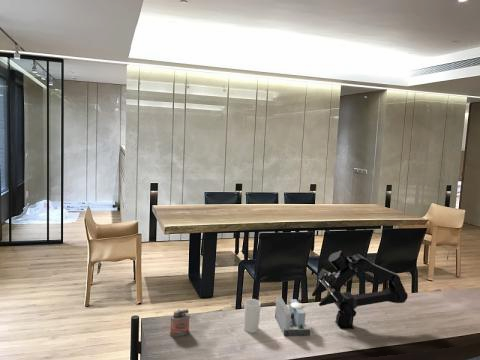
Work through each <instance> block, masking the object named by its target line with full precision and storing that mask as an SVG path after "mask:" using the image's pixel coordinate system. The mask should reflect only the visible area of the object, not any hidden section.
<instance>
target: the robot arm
mask: <svg viewBox="0 0 480 360" xmlns="http://www.w3.org/2000/svg"><path fill="white" fill-rule="evenodd" d="M328 261H329V262H330V264H331V265H332V266H333V268H335V270H337V272H336V271H334V272H332V273H331V272H330V271H328V270H326V269H324V268H321V270H320V272H319V273H318V275H317V284H316V287H315V288H314V290H313V292H312V293H311V296H312V297H316V296H318V295H320V294H322V293H323V292H326V291H327V294H326V295H325V297H324V298H322V300H320V302H319V303H318V305H319V307H323V306H326V305H331V304H334V305H335V306H336V307H337V309H338V310H337V314H336V315H335V316H336V318H335V321H334V322H335V324H336V325H337V326H338V327H339V328H340V329H342V330H343V329H348V330H349V329H352V330H353V329H355V326H354V317H356V315H357V311H356V310H355V309H357V307H361V306H368V305H369V306H370V305H373V304H374V305H375V304H381V303H385V302H389V303H393V304H404V303H406V301H407V299H408V293H407V291H406V289H405V287H404V284H403V283H402V281H401V277H400V276H399V275H398V274H397V273H395V272H394V271H391V270H389V269H387V268H384V267H382V266H380V265H377V264H375V263H373V262H371V261H370V260H369V259H368V258H367V259H366V258H365V257H364V256H362V255H361V254H358V253H355V254H354V255H348V256H346V255H345V253H344V252H343V251H342V250H339V251H336V252H333V253H331V254H330V255H329V257H328ZM361 272H362V273H363V272H364V273H370V274H374V275H376V276H378V277H380V278H383V279H384V280H387V286H388V287H386V288H385V289H384V290H380V291H374V292H368V293H361V294H355V295H354V294H352V293H351V292H350V291H344V292H342V291H340V289H341V288H343V286H344V287H347V286H348V285H347V283H348V282H349V281H351V280H352V279H353V278H354V277H356V278H357V279H360V273H361ZM328 289H329V290H328Z"/></svg>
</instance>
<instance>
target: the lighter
mask: <svg viewBox="0 0 480 360" xmlns="http://www.w3.org/2000/svg"><path fill="white" fill-rule="evenodd" d="M190 318H191V314H190V313H189V309H188V308H186V309H182V310H181V309H178V310H176V311H173V315H172V316H170V331H169V336H170V335H171V336H170V337H179V335H181V336H184V334H185V335H187V334H190Z"/></svg>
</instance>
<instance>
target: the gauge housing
mask: <svg viewBox="0 0 480 360" xmlns="http://www.w3.org/2000/svg"><path fill="white" fill-rule="evenodd" d="M275 299H276V300H275V313H274V318H275V320H276V322H277V324H278V327H279V330H280V331H281V332H282V334H283V336H284V337H311V327H310V326H304V327H303V328H301V327H293V326H291V322H290V321H291V313H290V311H289V307H288V306H287V304H286V303H285V301H284V299H283V298H282V296H281V295H280V296H277V295H276V298H275Z"/></svg>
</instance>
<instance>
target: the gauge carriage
mask: <svg viewBox="0 0 480 360" xmlns="http://www.w3.org/2000/svg"><path fill="white" fill-rule="evenodd" d="M288 306H289V307H288V309H289V311H290V313H291V321H290V325H291V327H301V328H303V327H305V323H306V321H305V320H306V311H305V310H304V309H305V305H304V304H303V303H300V302H299V301H298V300H297V298H296V299H295V298H294V299H293V298H291V299H289V305H288Z"/></svg>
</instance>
